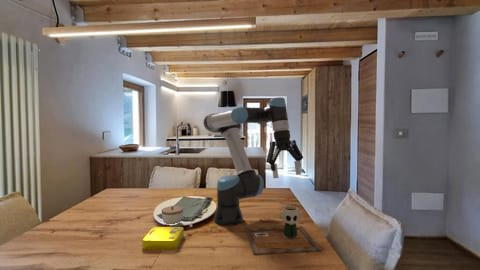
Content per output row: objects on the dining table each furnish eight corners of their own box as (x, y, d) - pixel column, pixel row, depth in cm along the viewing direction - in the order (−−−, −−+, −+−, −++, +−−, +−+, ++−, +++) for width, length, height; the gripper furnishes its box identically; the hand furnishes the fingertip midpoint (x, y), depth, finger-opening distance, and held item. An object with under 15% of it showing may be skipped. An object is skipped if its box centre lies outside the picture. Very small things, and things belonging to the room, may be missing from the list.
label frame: (253, 254, 110) (253, 253, 110) (245, 229, 135) (245, 228, 135) (321, 250, 113) (321, 249, 113) (301, 227, 138) (301, 225, 138)
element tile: (153, 235, 130) (152, 225, 130) (184, 235, 130) (184, 225, 130) (140, 250, 116) (140, 239, 115) (176, 250, 115) (176, 239, 115)
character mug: (279, 239, 124) (280, 210, 123) (277, 232, 131) (277, 205, 131) (304, 238, 125) (304, 210, 124) (300, 232, 132) (300, 205, 131)
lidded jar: (187, 223, 144) (187, 205, 143) (169, 229, 136) (168, 210, 135) (175, 218, 151) (175, 201, 150) (157, 224, 143) (157, 206, 143)
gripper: (264, 130, 120) (270, 179, 117) (306, 128, 133) (313, 172, 130) (254, 133, 126) (260, 180, 124) (295, 131, 139) (302, 173, 137)
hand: (287, 176), depth 127 cm, fingers open, 13 cm apart
